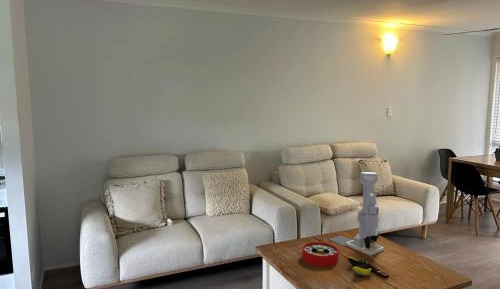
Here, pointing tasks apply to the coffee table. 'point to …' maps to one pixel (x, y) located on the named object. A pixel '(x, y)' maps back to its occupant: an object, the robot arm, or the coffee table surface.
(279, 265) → the coffee table surface
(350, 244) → the tray
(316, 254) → the toy clock
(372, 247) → the birch block
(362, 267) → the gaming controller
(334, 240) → the mat
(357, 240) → the blue-grey block
